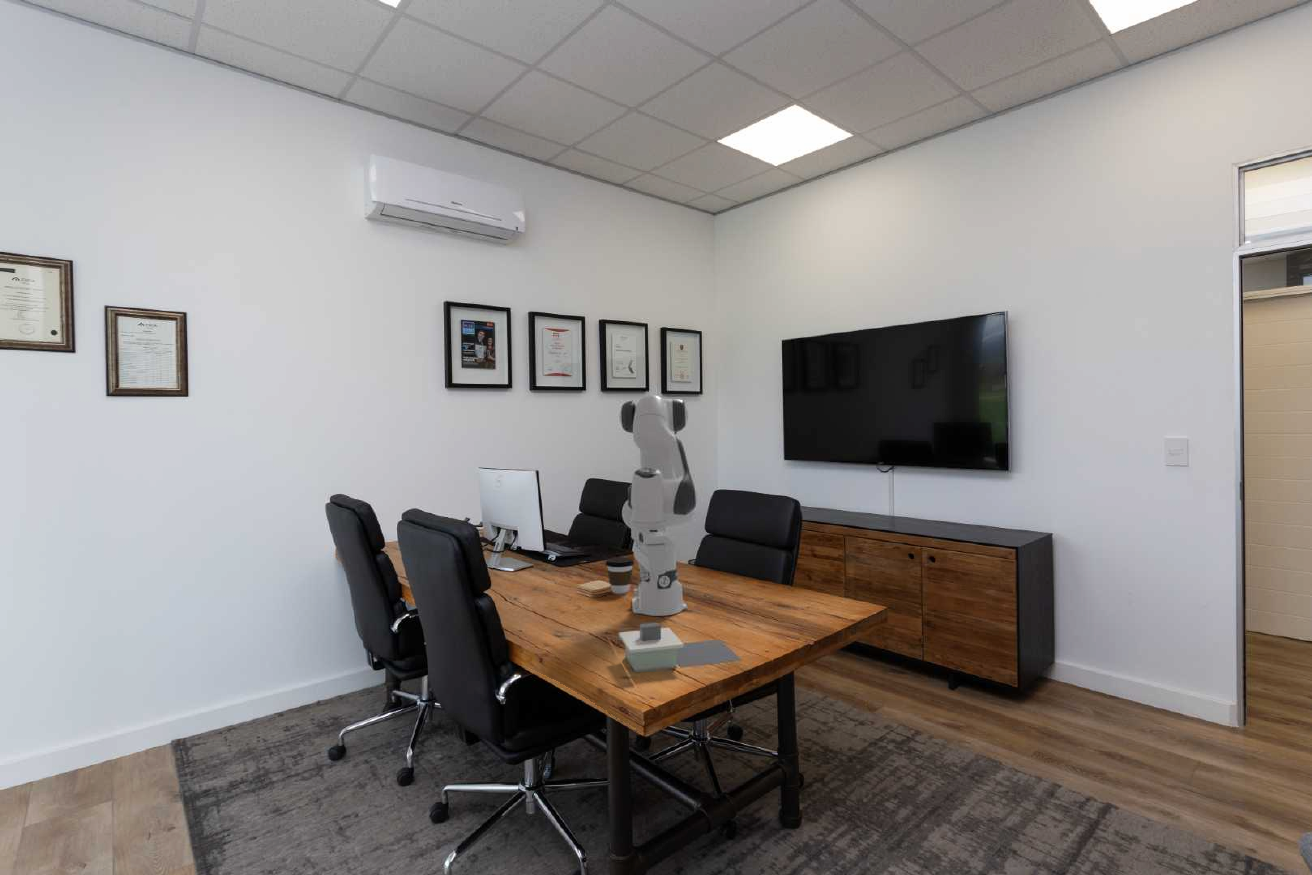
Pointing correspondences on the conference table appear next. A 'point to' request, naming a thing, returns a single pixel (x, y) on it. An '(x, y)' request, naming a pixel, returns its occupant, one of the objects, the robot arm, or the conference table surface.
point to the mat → (704, 653)
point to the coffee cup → (620, 573)
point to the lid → (650, 638)
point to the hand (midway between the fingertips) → (648, 583)
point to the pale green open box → (652, 660)
